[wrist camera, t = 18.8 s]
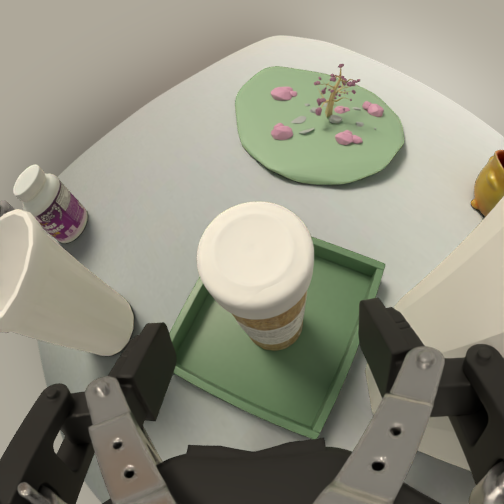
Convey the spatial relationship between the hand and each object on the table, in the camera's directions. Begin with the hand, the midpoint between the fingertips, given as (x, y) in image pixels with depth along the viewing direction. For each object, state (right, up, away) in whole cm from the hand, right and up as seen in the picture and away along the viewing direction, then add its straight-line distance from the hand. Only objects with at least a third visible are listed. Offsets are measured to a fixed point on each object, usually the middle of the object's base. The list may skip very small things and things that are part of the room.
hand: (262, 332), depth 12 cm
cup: (-14, -4, +14) cm, 20 cm away
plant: (+7, +20, +23) cm, 31 cm away
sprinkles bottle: (+1, -3, +12) cm, 12 cm away
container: (+16, -7, +8) cm, 19 cm away
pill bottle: (-22, +6, +20) cm, 31 cm away
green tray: (+1, -3, +12) cm, 13 cm away
